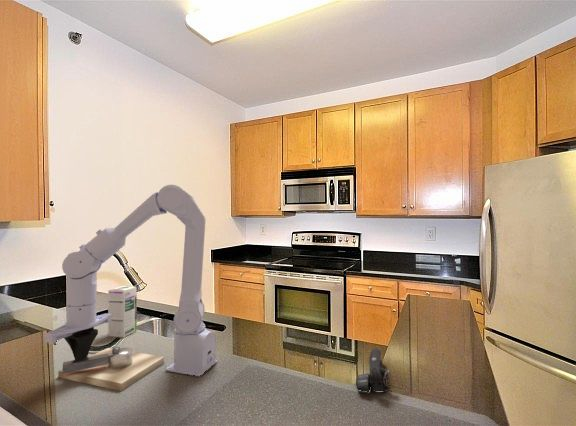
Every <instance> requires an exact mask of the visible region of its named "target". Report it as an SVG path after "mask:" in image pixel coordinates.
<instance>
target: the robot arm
mask: <svg viewBox="0 0 576 426" xmlns="http://www.w3.org/2000/svg"><path fill="white" fill-rule="evenodd" d="M168 213H170V214H172V215H174V216H176V218H177V219H178V220H179V221H180V222H181V223H182V224H183V225H184V226H185V227H184V229H185V230H184V243H183V244H184V247H183V259H182V274H181V291H180V295H179V296H180V297H179V302H178V309H177V311H176V313H175V314H174V317H173V325H174V329H173V330H174V331H173V333H174V334H173V337H174V339H173V341H174V342H173V363H171V364H170V365H168V366H167V367H166V368H165V371H166V372H171V373H176V374H177V373H178V374H184V375H187V374H188V375H187V376H193V375H195V376H194V377H201V376H202V375H203V374H204V372H205V371H206V370H207V371H208V370H209V369H211V368H212V367H213V366H214V365H215V364H216V363H218V360H217V357H216V353H217V349H216V348H217V347H216V346H217V343H216V341H217V340H216V334H215V332H214V331H211V330H208V329H207V328H206V324H205V323H204V321H203V316H204V313H205V310H206V309H205V304H204V302H203V299H202V296H203V294H202V293H203V292H202V280H203V269H204V268H203V266H204V254H205V253H204V250H205V235H206V234H205V232H206V216H205V215H204V213H203V212H202V210H201V208H200V207H199V205H198V204H197V202H196V200H195V198H194V197H193V196H192V195H191V194H190V193H189V192H187V191H186V190H184V189H183V188H182V187H181V186H178V185H176V184H166V185H165V186H163V187H162V188H160V189H159V191H156V192H154V193H152V194H151V195H150V196H148V198H146V199H145V201H142V203H141V204H140V205H139V206H138V207H137V208H135V209H134V210H133V211H132V212H131V213H130V214H128V216H126V218H124V219H123V220H122V221H121V222H120V223H119V224H117V226H115V227H105V228H104V229H101V228H100V229H99V230H97V231H96V232H95V234H96V235H95V236H94V237H92V239H91V240H89V241H88V242H87V243H85V244H81V245H80V246H79V247H78V248H79V251H73V252H70V253H68V255H67V256H66V257H65V258H64V260H63V261H62V264H61V265H62V266H61V267H62V271H63V273H64V274H65V276H66V277H67V278H66V303H65V304H66V309H65V310H66V311H65V314H66V317H65V321H66V322H65V323H64V324H63V325H62V326H59V327H57V328H56V329H52V330H51V331H49V332H45V333H44V343H45V344H51V345H53V344H55V343H57V341H60V340H62V339H64V340H65V341H66V343H67V344H68V345H69V347H70V350H71V352H72V355H73V358H74V360H77V359H82V358H87V357H89V353H90V350H91V347H92V345H93V342H95V341H94V340H95V339H96V338H97V336H98V334H99V330H98V329H96V328H95V327H98V326H100V325H103V324H106V323H107V324H108V323H109V322H111V314H108V313H102V314H100V315H99V314H98V315H97V291H98V289H97V287H98V281H97V280H98V278H97V277H98V276H97V274H98V271H99V270H100V269H101V267H102V265H103V264H104V263H106V262H107V261H108V260H109V259H110V258H111V257H112V256H114V255H115V254H116V253H117V252H119V251H120V250H121V249H122V248H123V247H124V246H126V238H127V237H128V236H129V235H131V234H132V233H133V232H134V231H136V230H137V229H138V228H139V227H141V226H142V225H143V224H144V223H146V222H147V221H148V220H150V219H151V218H152V217H155V216H160V215H165V214H168ZM212 365H213V366H212ZM211 366H212V367H211ZM207 371H206V372H207ZM206 372H205V373H206ZM200 375H201V376H200Z"/></svg>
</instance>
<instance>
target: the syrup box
mask: <svg viewBox="0 0 576 426" xmlns="http://www.w3.org/2000/svg"><path fill="white" fill-rule="evenodd" d="M137 288H138V287H137V286H135V285H121V286H119V287H115V288H111V289H108V292H107V293H108V294H107V295H108V298H107V299H108V300H107V302H108V303H107V305H108V307H107V308H108V309H107V311H108V312H107V314H111V322H109V323H107V329H108V331H107V334H108V337H112V338H123V339H124V338H126V337H127V336H129V335H131V334H133V333H135V332H137V330H138V329H137V324H138V323H137V320H138V319H137V316H138V315H137V307H138V305H137V299H138V298H137V297H138V296H137V291H138V290H137Z"/></svg>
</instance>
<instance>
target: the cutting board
mask: <svg viewBox="0 0 576 426" xmlns="http://www.w3.org/2000/svg"><path fill="white" fill-rule="evenodd" d="M112 349H113V347H111V348H110V347H107V348H105V349H102V350H101V351H99V352H96V353H94V354H91V355H90V356H89V355H88V357H92V356H97V355H102V354H107V353H108V354H109V353H110V352H111V351H112ZM164 364H165V356H160V355H156V354H155V355H153V354H149V353H142V352H135V351H133V362H132V364H130V365H129V366H127V367H124V368H120V369H111V368H109V367H108V364H107V365H102V366H98V367H93V368H88V369H84V370H79V371H74V372H70V373H65V374H63V368H61V369H58V376H57V377H58V378H60V379H63V380H68V381H74V382H77V383H82V384H83V383H84V384H87V385H93V386H97V387H102V388H106V389H111V390H117V391H121V392H122V391H123V390H125V389H127V388H128V387H130V386H131V385H133V384H134V383H136V382H137V381H139V380H140V379H142V378H143V377H145V376H146V375H148V374H149V373H151V372H153V371H154V370H156V369H157V368H159V367H160V366H162V365H164Z"/></svg>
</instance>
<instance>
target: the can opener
mask: <svg viewBox="0 0 576 426" xmlns="http://www.w3.org/2000/svg"><path fill="white" fill-rule="evenodd" d="M381 357H382V353H381V350H380V349H378V348H372V350H371V351H370V354H369V372H367V373H363V374H358V375H357V376H356V379H355V386H356V389H358V390H361V391H367V392H369V390H370V387H371V389H372V391H373V390H375V391H385V390H387V391H389V389H388V388H389V387H388V388H387V386H388V378H389V376H391V374H390V369H387V368H384V366H383V365H384V364H383V361H382V358H381ZM358 390H357V391H358ZM375 391H374V392H375ZM385 392H386V391H385Z"/></svg>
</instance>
